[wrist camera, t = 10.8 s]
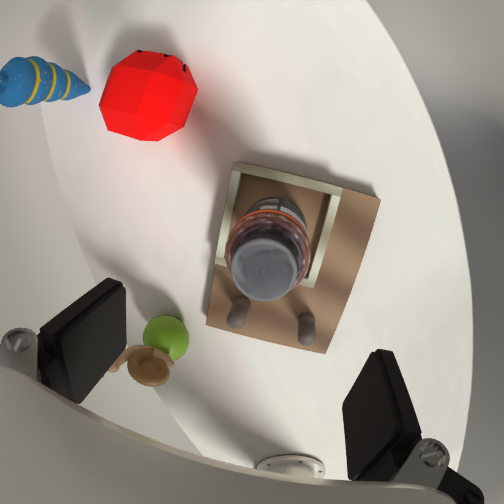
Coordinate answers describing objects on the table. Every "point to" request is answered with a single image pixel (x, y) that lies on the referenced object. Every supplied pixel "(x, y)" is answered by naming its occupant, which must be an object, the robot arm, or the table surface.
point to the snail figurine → (155, 351)
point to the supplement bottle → (269, 249)
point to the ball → (148, 96)
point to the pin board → (321, 265)
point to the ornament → (37, 82)
